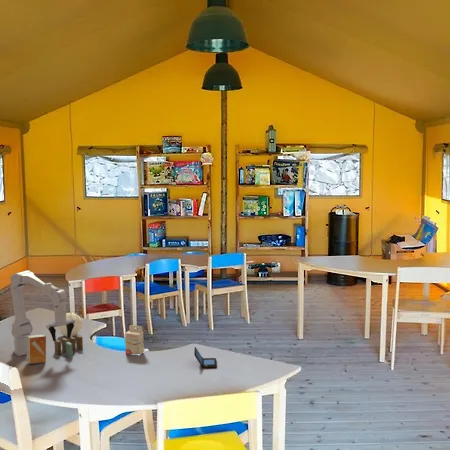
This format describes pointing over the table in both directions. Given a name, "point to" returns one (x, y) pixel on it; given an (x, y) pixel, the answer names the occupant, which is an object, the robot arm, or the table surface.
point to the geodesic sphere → (76, 326)
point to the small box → (36, 349)
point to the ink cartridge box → (134, 340)
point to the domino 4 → (69, 350)
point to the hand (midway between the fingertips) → (61, 339)
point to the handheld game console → (205, 360)
